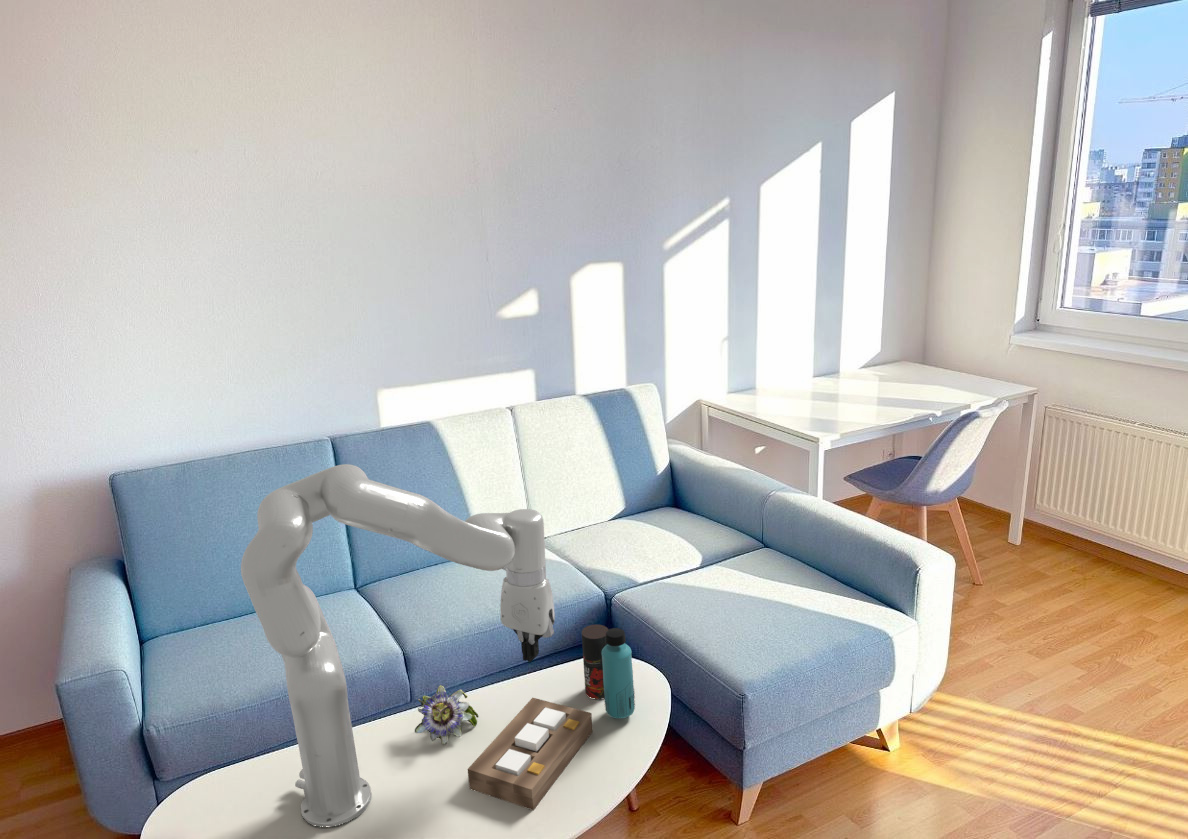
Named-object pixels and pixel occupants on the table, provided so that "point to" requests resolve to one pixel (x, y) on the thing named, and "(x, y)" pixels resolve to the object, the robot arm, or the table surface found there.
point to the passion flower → (445, 714)
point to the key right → (550, 719)
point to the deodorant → (593, 659)
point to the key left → (513, 762)
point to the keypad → (543, 762)
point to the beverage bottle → (617, 675)
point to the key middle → (531, 737)
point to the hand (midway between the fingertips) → (530, 657)
